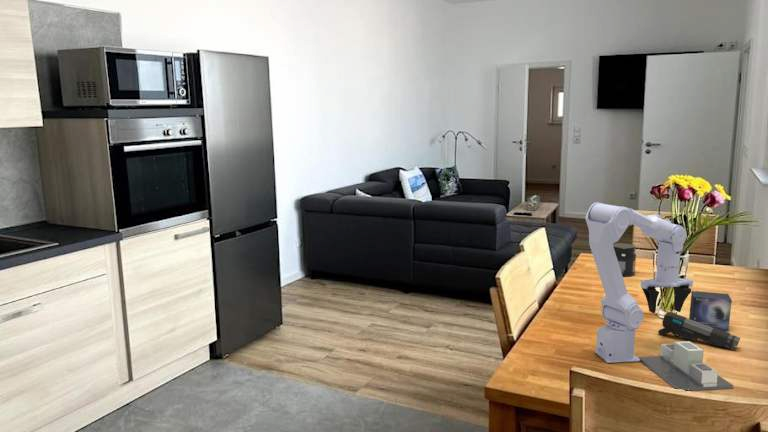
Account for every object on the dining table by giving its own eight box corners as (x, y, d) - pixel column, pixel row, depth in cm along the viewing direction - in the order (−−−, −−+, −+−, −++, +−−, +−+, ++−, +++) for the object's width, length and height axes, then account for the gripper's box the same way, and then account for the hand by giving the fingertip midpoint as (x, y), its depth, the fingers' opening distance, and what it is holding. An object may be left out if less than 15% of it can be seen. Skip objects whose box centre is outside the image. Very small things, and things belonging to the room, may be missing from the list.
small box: (690, 328, 185) (693, 296, 183) (688, 321, 191) (690, 290, 190) (729, 332, 182) (732, 299, 180) (725, 325, 188) (728, 293, 186)
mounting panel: (678, 391, 143) (680, 373, 143) (637, 359, 162) (639, 343, 161) (733, 388, 145) (734, 370, 144) (686, 357, 163) (687, 341, 163)
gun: (658, 330, 183) (672, 303, 179) (725, 365, 173) (741, 337, 169) (654, 334, 179) (668, 306, 176) (722, 371, 169) (739, 342, 166)
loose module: (686, 373, 150) (688, 350, 149) (673, 363, 156) (674, 341, 155) (701, 372, 150) (703, 349, 149) (687, 362, 156) (689, 340, 155)
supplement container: (637, 272, 250) (638, 244, 248) (632, 278, 242) (634, 249, 239) (610, 269, 256) (612, 242, 254) (605, 275, 247) (607, 246, 245)
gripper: (651, 269, 163) (648, 317, 165) (701, 268, 164) (697, 314, 166) (638, 263, 170) (635, 308, 172) (685, 261, 171) (682, 306, 173)
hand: (664, 311), depth 170 cm, fingers open, 7 cm apart
